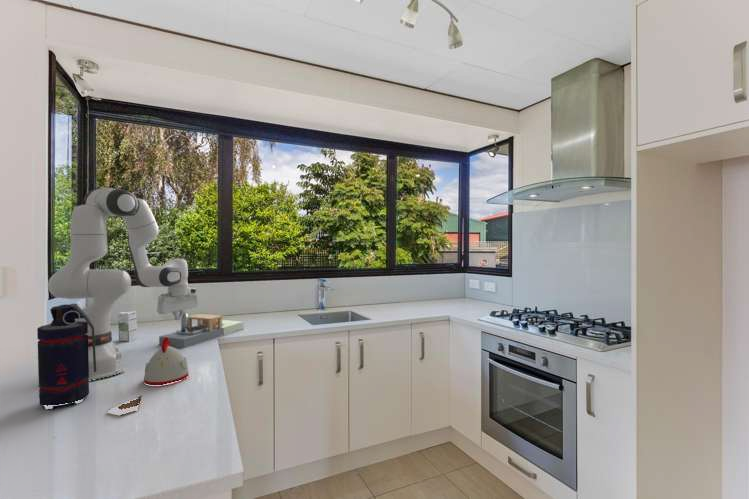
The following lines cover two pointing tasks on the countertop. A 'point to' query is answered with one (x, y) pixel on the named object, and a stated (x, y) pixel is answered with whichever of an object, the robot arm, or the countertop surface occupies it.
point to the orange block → (214, 322)
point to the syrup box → (127, 325)
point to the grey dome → (166, 366)
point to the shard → (131, 403)
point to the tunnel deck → (196, 338)
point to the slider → (185, 326)
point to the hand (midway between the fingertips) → (178, 319)
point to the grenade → (64, 356)
